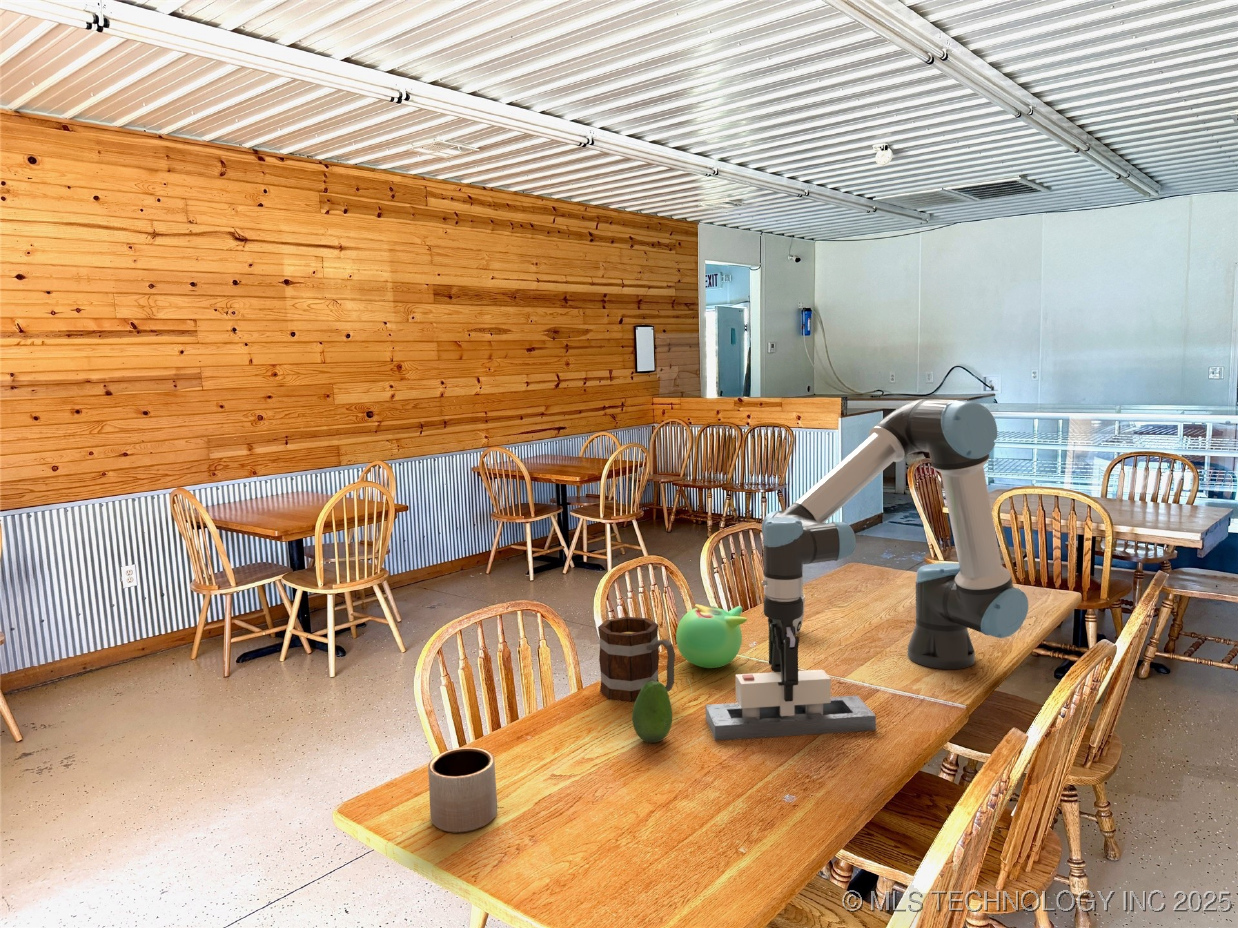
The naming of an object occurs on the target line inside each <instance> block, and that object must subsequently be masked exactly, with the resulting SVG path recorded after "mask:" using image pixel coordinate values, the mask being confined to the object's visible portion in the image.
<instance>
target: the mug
mask: <svg viewBox="0 0 1238 928" xmlns="http://www.w3.org/2000/svg"><path fill="white" fill-rule="evenodd" d="M597 630H598V636H599V657H598V658H599V659H598V660H599V668H600V669H599V670H600V686H599V687H600V689H599V692H600V693H601V694H602V695H603V696H604V697H606V698H607V699H608V700H609V701H618V702H623V703H624V702H625V703H635V701H636V699H637V697H638V695H639V693H640V691H641V689H642V687H643V686H644V684H646V683H648V682H650V681H659V682H660V679H659V661H660V660H659V659H660V654H659V652H660V651H659V647H660V646H663V647H665V649H666V653H667V662H666V684H665V688H666V690H667V692H669V691H671V690H672V689H673V687H674V683H675V662H676V660H675V659H676V653H675V649H674V646H673V643H672V642H671V641H669V640H668V639H666V638H664V639H658V634H659V624H658V623H657V622H655V621H653V620H652V619H650V618H648V617H647V618H646V617H636V616H635V617H634V616H623V617H617V618H610V619H606V620H604V621H603V622H601V624H599V626H598V627H597Z"/></svg>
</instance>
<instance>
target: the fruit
mask: <svg viewBox="0 0 1238 928" xmlns="http://www.w3.org/2000/svg"><path fill="white" fill-rule="evenodd" d="M665 687H666V685H665V684H664V683H661V682H660V680H659V681H650V682H648V683H646V684H644V686H643V687H642V689H641V691H640V693H639V695H638V697H637V699H636V701H635V702H634V705H633V708H632V717H631V719H632V720H631V721H632V726H633V728H634V731H635V734H636V736H637V737H638V738H640V739H641V740H642V741H643V742H646V743H648V744H650V743H658V742H660V741H662V740H664V739H665V738H666V737H667V736H668V734H669V732H670V731H671V728H672V725H673V724H672V723H673V709H672V704H671V703H672V702H671V700H670V696H669V693H668V692H669V691H667V690H666V688H665Z"/></svg>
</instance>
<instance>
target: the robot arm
mask: <svg viewBox="0 0 1238 928" xmlns="http://www.w3.org/2000/svg"><path fill="white" fill-rule="evenodd" d="M868 435H869V436H868V437H867V438H866V439H864V441H863V442H862V443H860V445H858V446H857V447H856V448H855V449H854V450H853V451H851V452H850V453H849V454H848V455H846V456H845V457H844V458H843V459H842V460H841V461H840V462H839V463H837V465H836V466H834V467H833V468H832V469H831V470H830V471H829V472H827V473H826V474H825V475H824V476H823V477H822V478H821V479H819V481H817V482H816V483H815V484H814V485H812V486H811V487H810V488H809V489H808V490H807V491H806V492H805V493H803V494H802V495H801V496H800V497H799V498H798V499H797V500H795V501H794V502H793V503H792V504H790V506H789V507H787V508H786V509H785V510H774V511H771V512H769V513H768V514H766V516H765V517H764V518H763V520H762V522H761V535H762V545H763V547H762V549H763V552H762V553H763V559H762V560H763V580H761V582H760V584H761V586H763V593H764V595H765V596H764V597H763V614H764V616H765V617H767V622H768V664H769V665H770V670H771V672H781V682H778V685H779V686H780V716H793V715H794V685H798V671H799V643H800V638H799V636H798V635H797V634H796V632H795V626H793V621H794V620H795V619H798V618H800V617H801V616H802V598H801V596H802V594H803V593H804V588H803V587H804V586H803V585H804V577H803V570H804V565H810V564H818V563H826V562H833V561H834V562H837V561H839V560H844V559H847V558H849V557H851V556H852V555H853V554H854V552H855V550H856V547H857V546H856V544H857V543H856V542H857V540H856V534H855V532H854V530H853V528H852V527H851V526H850V525H849V524H848V523H847V522H843V521H838V522H837V521H832V522H827V521H829V519H830V518H832V516H834V515H835V514H836V513H837V512H838V511H840V509H842V508H843V507H844V506H845V505H846V504H847V503H848V502H849V501H850V500H852V499H853V498H855V496H856V495H858V494H859V492H861V491H862V490H863V489H864V488H865V487H866V486H867V485H868V484H870V483H871V482H872V481H874V479H875V478H876V477H878V476H879V475H880V474H881V473H882V472H883V471H884V470H885V469H886V468H888V467H889V466H890V465H892V463H893V462H894V463H899V462H901V461H903V459H905V458H906V457H907V456H908V455H911V454H913V453H917V452H924V453H929V458H930V464H931V467H932V469H934V470H935V471H937V472H939V473H940V474H941V479H942V480H941V481H942V486H943V491H944V495H945V501H946V506H947V510H948V516H949V521H950V526H951V531H952V535H953V541H954V546H955V550H956V556H957V560H958V562H938V563H930V564H924V565H922V566H920V567H919V568H918V569H917V571H916V581H915V626H914V629H913V632H912V634H911V637H910V639H909V641H908V645H907V657H908V659H909V660H910V661H911V662H914V663H915V664H918V665H920V666H924V667H927V668H934V669H941V670H961V669H966V668H969V667H971V666H973V665H975V661H976V660H975V659H976V657H975V656H976V652H975V649H974V644H973V642H972V639H971V636H970V633H969V630H968V629H970V630H973V631H977V632H979V633H981V634H983V635H985V636H991V637H994V638H998V639H1005V638H1008V637H1011V636H1013V635H1014V634H1015V633H1017V632H1018V631H1019V630H1020V628H1021V627H1022V626H1023V624H1024V622H1025V621H1026V619H1027V616H1028V611H1029V600H1028V599H1029V598H1028V597H1027V595H1026V593H1025V592H1024V591H1022V590H1021V588H1020V587H1018V588H1017V587H1014V584H1013V579H1012V574H1011V571H1010V570H1009V569H1008V568H1007V567H1004V566H1003V564H1002V560H1001V555H1000V550H999V543H998V539H997V534H996V533H997V532H996V528H995V522H994V517H993V511H992V507H991V501H990V500H991V499H990V495H989V489H988V485H987V480H986V474H985V469H984V466H985V465H986V463H988V461H989V460H990V453H991V452H992V451H993V449H994V448H995V445H996V443H995V441H996V440H997V439H998V427H997V421H996V419H995V417H994V415H993V414H992V412H991V411H990V410H989V409H988V407H986V406H984V405H983V404H981V403H978V402H975V401H969V400H965V399H956V400H955V399H933V398H920V399H916V400H913V401H909V402H908V403H905V404H903V405H901V406H900V407H898V408H897V409H894V410H893V411H892V412H890V413H889V414H887V415H886V416H885V417H884V418H882V419H881V420H880V421H879V422H878V423H876V424H875V425H874V426H873V427H871V428H870V430H869V432H868ZM795 635H796V636H795Z"/></svg>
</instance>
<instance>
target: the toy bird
mask: <svg viewBox="0 0 1238 928" xmlns="http://www.w3.org/2000/svg"><path fill="white" fill-rule="evenodd" d="M694 607H695V608H692V609H691V610H689V611H688V612H687V613H685V614H684V615H683V617H681V619H680V620H679V623H678V626H677V629H676V635H675V638H676V639H675V640H676V642H675V643H676V645H677V648H678V651H679V653H680V654H681V656H682V657H683V658H684V659H685V660H686V661H688V663H691V664H692V665H695V666H698V667H700V668H704V669H705V668H706V669H715V668H721V667H723V666H726V665H728V664H730V663H731V662H733V660H734V659H735V658H736V657H737V656H738V654H739V652H740V649H741V646H742V642H743V636H742V629H741V626H740V625H742V624H745V623H747V621H748V618H746V617H745V616H741V615H742V613H743V607H742V606H741V605H738V606H735V607H733V608H732V609H730V610H728V611H727V610H725V609H722V608H719V607H716V606H712V605H710V606H706V605H701V604H695V605H694Z"/></svg>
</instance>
